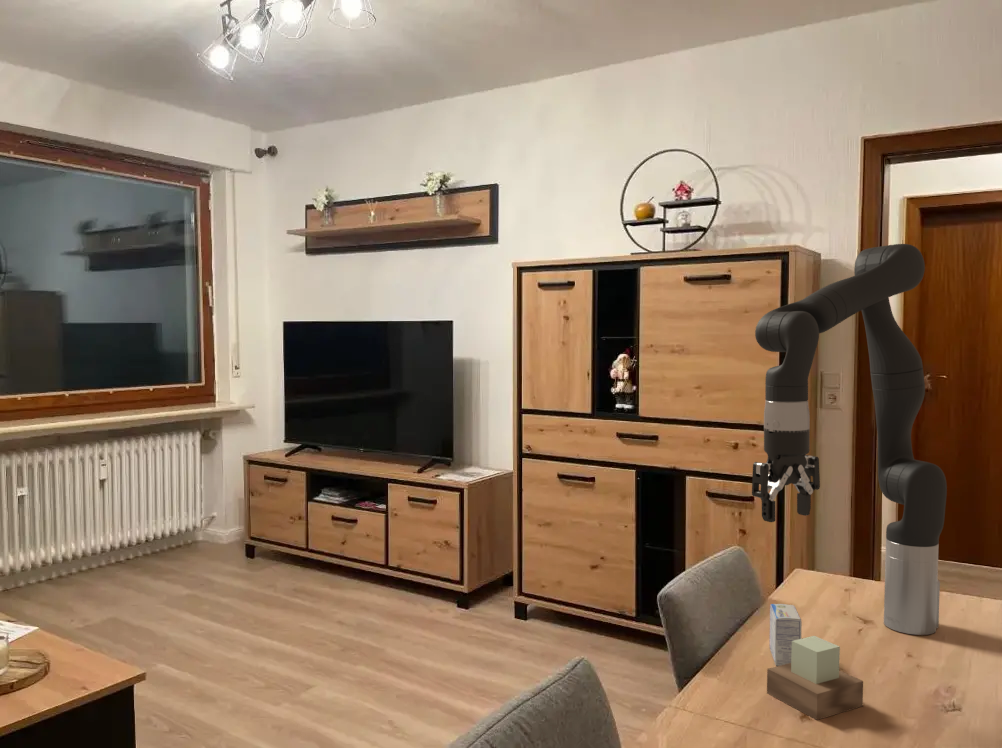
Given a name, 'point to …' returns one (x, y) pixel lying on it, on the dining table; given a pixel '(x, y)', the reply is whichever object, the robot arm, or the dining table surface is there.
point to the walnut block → (815, 692)
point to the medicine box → (783, 631)
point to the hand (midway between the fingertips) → (786, 518)
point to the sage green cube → (815, 659)
